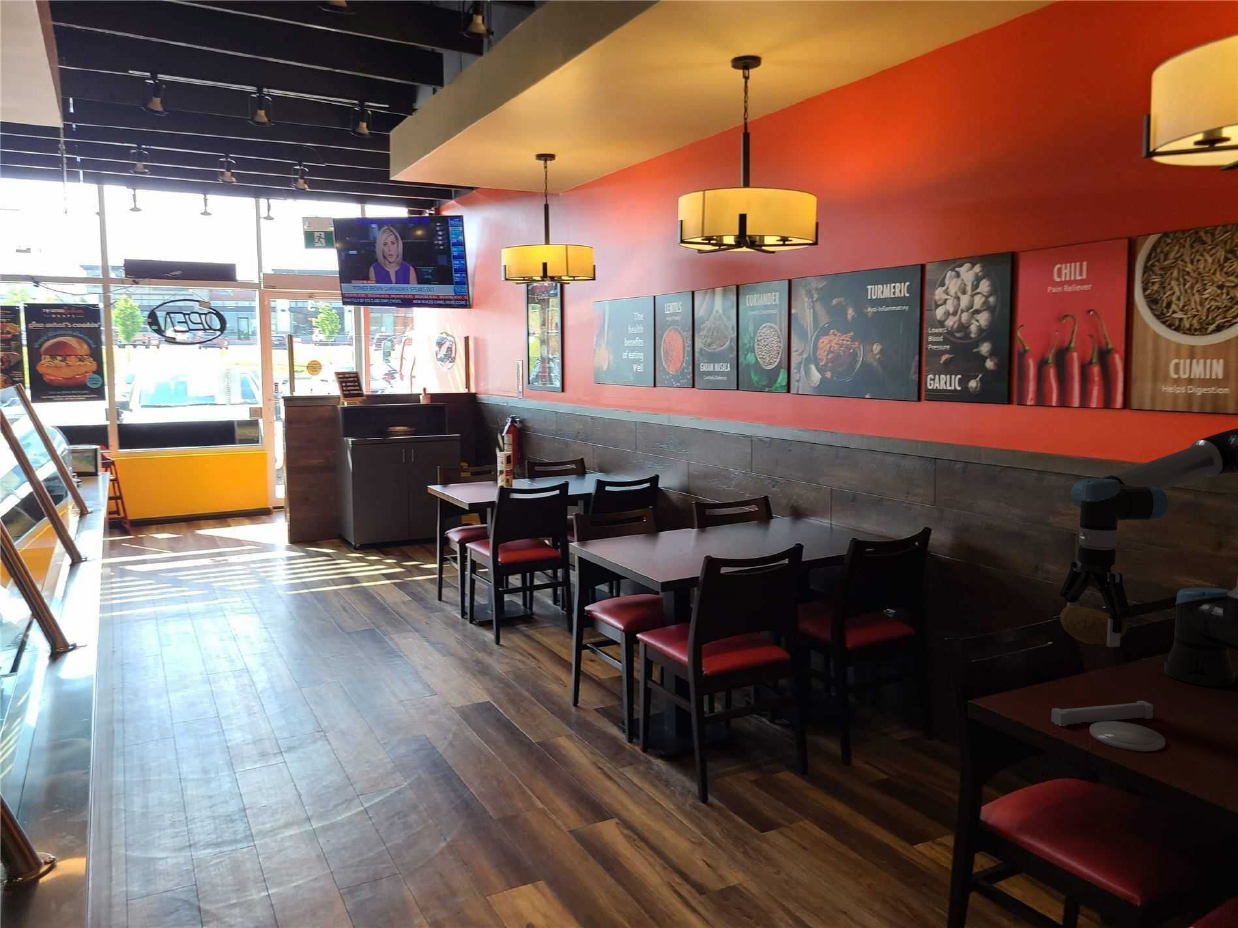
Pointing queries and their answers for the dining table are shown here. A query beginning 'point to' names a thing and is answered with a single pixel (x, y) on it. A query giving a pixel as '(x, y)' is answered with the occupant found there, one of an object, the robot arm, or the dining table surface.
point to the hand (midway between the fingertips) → (1091, 637)
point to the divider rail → (1102, 713)
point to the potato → (1087, 624)
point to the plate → (1127, 736)
